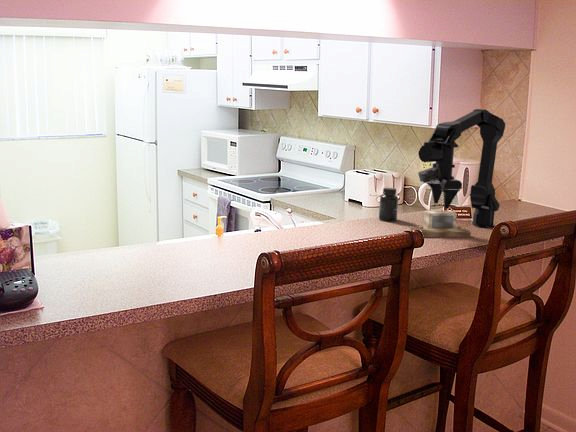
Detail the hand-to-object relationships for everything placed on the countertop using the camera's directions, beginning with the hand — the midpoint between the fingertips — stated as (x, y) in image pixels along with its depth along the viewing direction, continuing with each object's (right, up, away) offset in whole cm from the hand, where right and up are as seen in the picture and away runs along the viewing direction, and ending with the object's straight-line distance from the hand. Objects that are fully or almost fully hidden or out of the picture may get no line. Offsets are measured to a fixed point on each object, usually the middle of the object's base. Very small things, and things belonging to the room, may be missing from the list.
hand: (441, 205), depth 234 cm
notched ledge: (0, -10, +2) cm, 10 cm away
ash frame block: (0, -8, +2) cm, 8 cm away
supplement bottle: (-15, -5, +23) cm, 28 cm away
